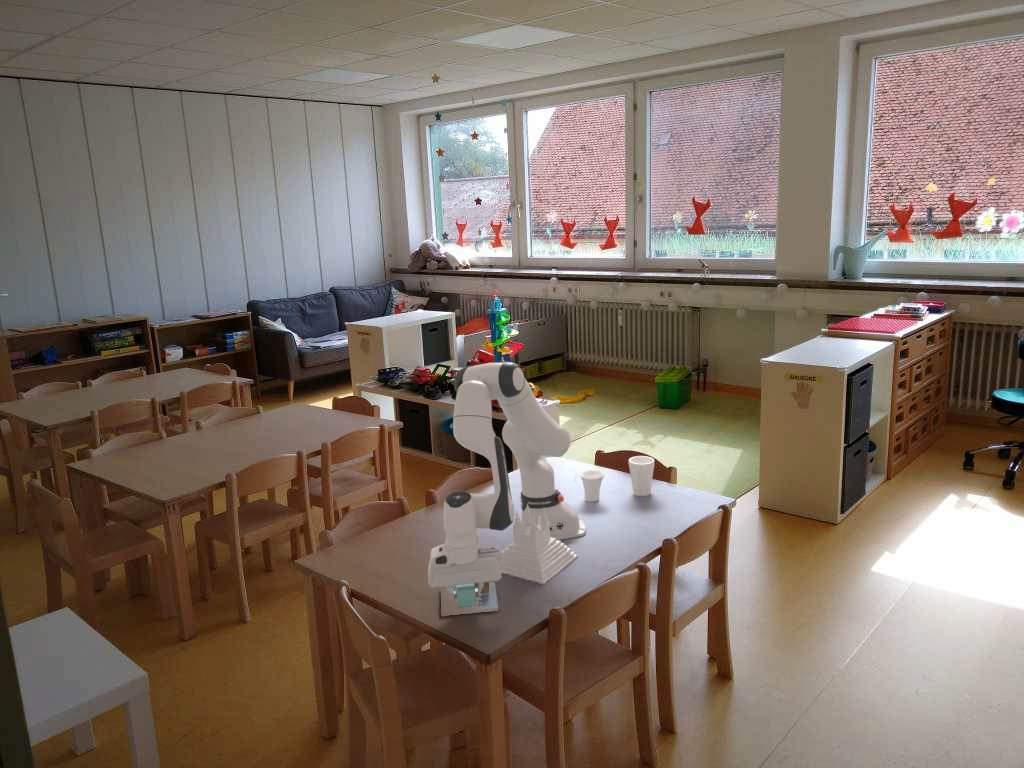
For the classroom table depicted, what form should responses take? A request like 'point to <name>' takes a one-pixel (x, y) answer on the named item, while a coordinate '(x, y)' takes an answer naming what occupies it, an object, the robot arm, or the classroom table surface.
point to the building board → (489, 599)
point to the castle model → (535, 551)
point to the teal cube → (466, 595)
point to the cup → (592, 484)
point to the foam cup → (641, 474)
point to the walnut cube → (485, 587)
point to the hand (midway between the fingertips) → (466, 596)
